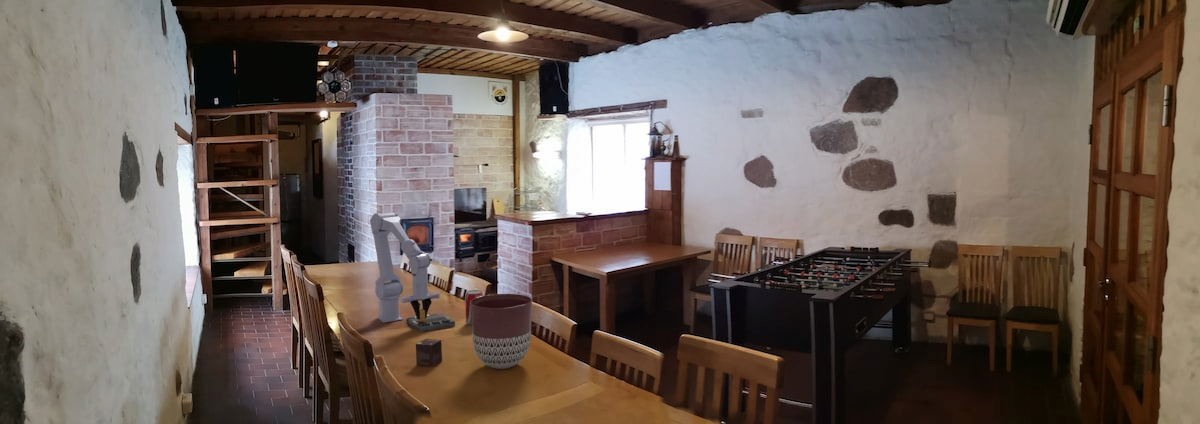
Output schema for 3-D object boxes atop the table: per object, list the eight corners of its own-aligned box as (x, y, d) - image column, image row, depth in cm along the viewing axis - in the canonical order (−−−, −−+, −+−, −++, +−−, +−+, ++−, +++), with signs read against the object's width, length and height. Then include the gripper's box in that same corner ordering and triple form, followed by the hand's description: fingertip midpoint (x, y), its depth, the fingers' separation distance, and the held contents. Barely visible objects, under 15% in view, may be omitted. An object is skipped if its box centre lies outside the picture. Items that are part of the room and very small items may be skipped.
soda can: (486, 321, 256) (485, 289, 255) (481, 326, 249) (480, 293, 247) (469, 321, 256) (468, 289, 255) (463, 325, 249) (462, 293, 248)
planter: (515, 380, 190) (513, 310, 188) (459, 372, 197) (457, 305, 195) (543, 360, 208) (542, 296, 206) (491, 353, 215) (489, 291, 213)
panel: (408, 323, 253) (408, 317, 252) (442, 318, 260) (442, 312, 260) (420, 332, 241) (419, 325, 241) (455, 326, 249) (454, 319, 249)
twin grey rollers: (405, 321, 256) (405, 317, 256) (436, 316, 263) (436, 313, 263) (408, 323, 253) (408, 319, 253) (439, 318, 260) (439, 314, 260)
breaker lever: (417, 320, 249) (417, 309, 249) (422, 319, 250) (422, 308, 250) (420, 321, 246) (419, 310, 246) (425, 321, 248) (424, 310, 247)
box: (442, 361, 207) (442, 339, 207) (432, 367, 202) (431, 345, 201) (426, 359, 209) (426, 338, 209) (415, 365, 204) (415, 343, 203)
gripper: (404, 288, 240) (406, 323, 241) (441, 283, 248) (442, 317, 249) (399, 285, 245) (400, 319, 247) (435, 280, 253) (436, 314, 255)
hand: (421, 318), depth 248 cm, fingers closed on breaker lever, 2 cm apart
